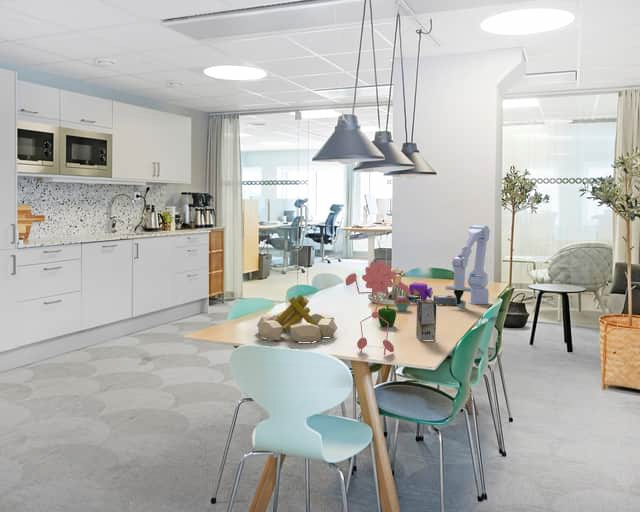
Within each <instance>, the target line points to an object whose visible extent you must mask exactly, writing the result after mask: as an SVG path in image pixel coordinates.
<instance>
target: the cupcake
mask: <svg viewBox="0 0 640 512" xmlns="http://www.w3.org/2000/svg"><path fill="white" fill-rule="evenodd" d="M406 294H407V293H406V292H404V294H403V296H399V297H396V298H395V299H394V300H393V304H394V305H395V306H396V309H397V310H396V311H398V312H406V311H407V310H408V308H409V305H411V301H412V300H409V297H408V298H407V297H406Z"/></svg>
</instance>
